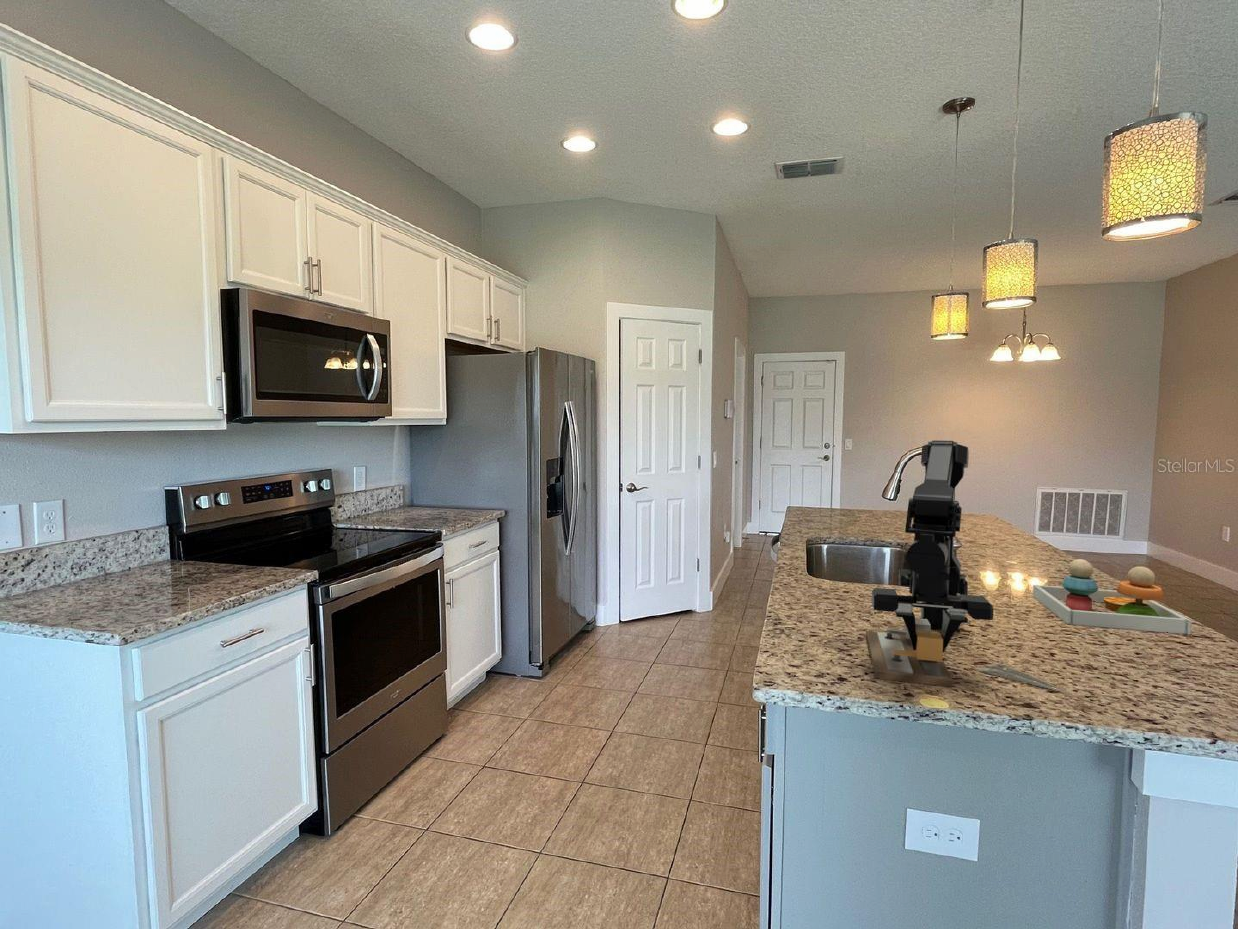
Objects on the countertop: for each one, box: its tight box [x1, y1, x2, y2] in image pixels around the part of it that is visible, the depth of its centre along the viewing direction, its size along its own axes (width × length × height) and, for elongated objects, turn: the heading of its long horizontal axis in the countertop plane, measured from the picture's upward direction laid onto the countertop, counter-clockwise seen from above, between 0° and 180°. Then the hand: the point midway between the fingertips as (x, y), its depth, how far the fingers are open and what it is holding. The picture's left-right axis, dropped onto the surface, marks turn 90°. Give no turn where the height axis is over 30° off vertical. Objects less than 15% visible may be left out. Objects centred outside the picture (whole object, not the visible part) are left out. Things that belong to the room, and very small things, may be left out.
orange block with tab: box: [894, 630, 944, 662], centre depth 111 cm, size 8×4×5 cm, turn 72°
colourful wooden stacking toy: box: [1061, 558, 1164, 617], centre depth 145 cm, size 18×17×12 cm
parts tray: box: [1032, 584, 1192, 635], centre depth 144 cm, size 22×23×3 cm
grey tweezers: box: [978, 663, 1072, 694], centre depth 105 cm, size 17×5×2 cm, turn 37°
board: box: [865, 617, 954, 688], centre depth 116 cm, size 12×22×5 cm, turn 162°
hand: (927, 650), depth 110 cm, fingers closed on orange block with tab, 4 cm apart
